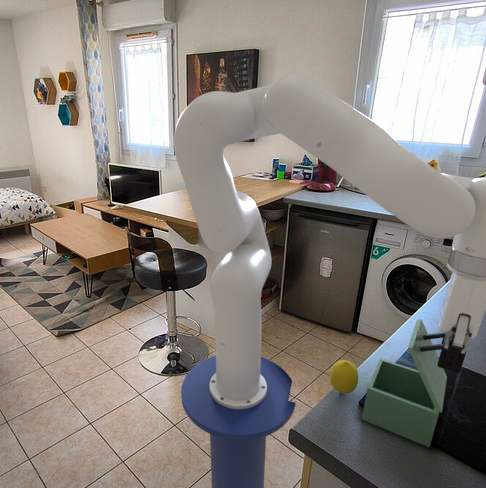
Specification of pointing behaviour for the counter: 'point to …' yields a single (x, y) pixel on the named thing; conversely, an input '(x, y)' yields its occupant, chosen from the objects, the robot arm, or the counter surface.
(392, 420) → the box
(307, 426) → the counter surface
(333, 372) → the lemon
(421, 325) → the lid
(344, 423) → the counter surface
